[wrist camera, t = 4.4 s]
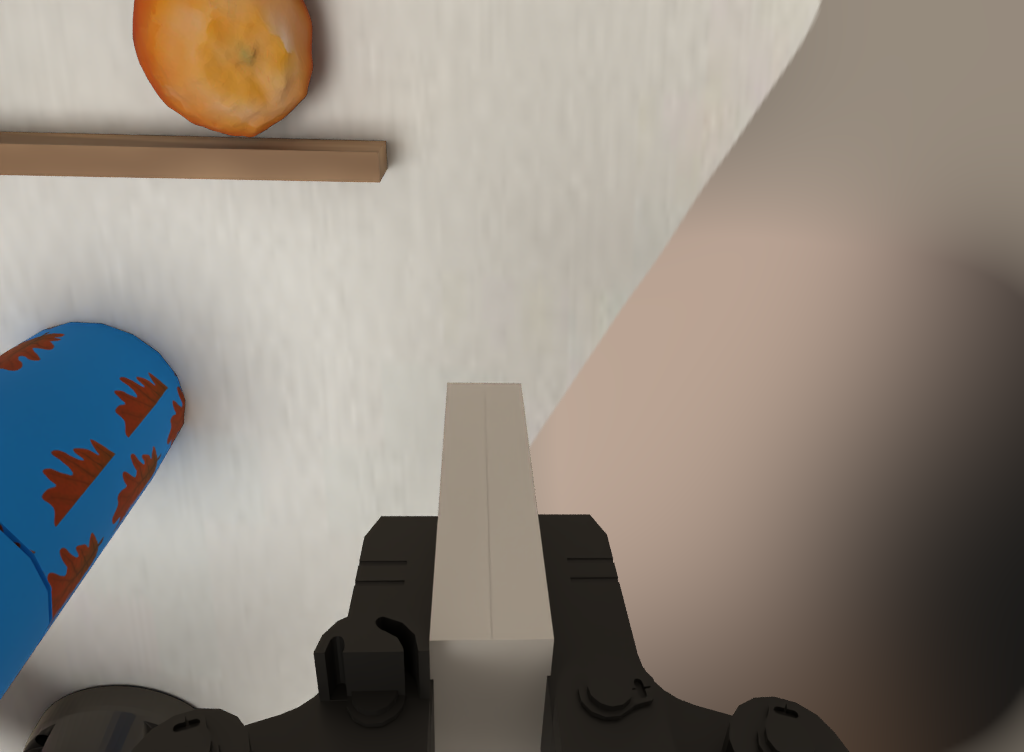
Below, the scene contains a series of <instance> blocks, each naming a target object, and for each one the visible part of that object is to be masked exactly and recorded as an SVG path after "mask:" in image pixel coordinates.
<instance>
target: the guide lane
mask: <svg viewBox="0 0 1024 752" xmlns="http://www.w3.org/2000/svg"><path fill="white" fill-rule="evenodd" d="M386 170H387V152H386V141H365V140H324V139H283V138H242V137H200V136H159V135H118V134H76V133H35V132H0V175H33V176H83V177H133V178H184V179H234V180H284V181H334V182H380V181H381V179H382V177H383V176H384V174H385V172H386Z"/></svg>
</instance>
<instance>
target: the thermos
mask: <svg viewBox="0 0 1024 752" xmlns="http://www.w3.org/2000/svg"><path fill="white" fill-rule="evenodd" d="M184 411H185V398H184V395H183V392H182V389H181V387H180V384H179V381H178V378H177V375H176V374H175V373H174V372H173V370H172V369H171V368H170V366H169V365H168V364H167V363H166V361H165V360H164V359H163V358H162V356H161V355H160V354H159V353H158V352H157V351H156V350H154V349H153V348H151V347H150V346H148V345H147V344H146V343H144V342H143V341H141V340H140V339H138V338H137V337H136V336H134V335H133V334H130V333H127V332H124V331H121V330H119V329H116V328H113V327H110V326H107V325H104V324H99V323H80V322H69V323H66V324H62V325H59V326H55V327H52V328H48V329H45V330H42V331H41V332H39V333H37V334H36V335H34V336H32V337H31V338H29V339H27V340H26V341H24V342H22V343H21V344H19V345H17V346H15V347H14V348H12V349H10V350H9V351H7V352H5V353H4V354H2V355H1V356H0V699H1V698H2V696H3V695H4V693H5V692H6V691H7V689H8V688H9V686H10V685H11V683H12V682H13V680H14V679H15V677H16V676H17V675H18V673H19V672H20V670H21V669H22V667H23V666H24V664H25V663H26V661H27V660H28V659H29V657H30V656H31V654H32V653H33V651H34V650H35V648H36V646H37V645H38V644H39V643H40V641H41V640H42V638H43V637H44V635H45V634H46V632H47V631H48V629H49V628H50V627H51V625H52V624H53V622H54V621H55V619H56V618H57V616H58V615H59V613H60V612H61V611H62V609H63V608H64V606H65V605H66V603H67V602H68V600H69V599H70V597H71V596H72V595H73V593H74V592H75V590H76V589H77V587H78V586H79V584H80V583H81V581H82V580H83V579H84V577H85V576H86V574H87V573H88V571H89V570H90V568H91V567H92V565H93V564H94V563H95V561H96V560H97V558H98V557H99V555H100V554H101V552H102V551H103V549H104V548H105V547H106V545H107V544H108V542H109V541H110V539H111V538H112V536H113V535H114V533H115V532H116V531H117V529H118V528H119V526H120V525H121V523H122V522H123V520H124V519H125V517H126V516H127V515H128V513H129V512H130V510H131V509H132V507H133V506H134V504H135V503H136V501H137V500H138V499H139V497H140V496H141V494H142V493H143V491H144V490H145V488H146V487H147V485H148V484H149V483H150V481H151V480H152V478H153V476H154V475H155V473H156V471H157V469H158V468H159V466H160V464H161V462H162V461H163V459H164V457H165V455H166V454H167V452H168V450H169V448H170V447H171V445H172V443H173V441H174V440H175V438H176V436H177V434H178V433H179V431H180V429H181V427H182V426H183V424H184Z"/></svg>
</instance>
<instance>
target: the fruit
mask: <svg viewBox="0 0 1024 752" xmlns="http://www.w3.org/2000/svg"><path fill="white" fill-rule="evenodd" d="M133 41H134V46H135V50H136V53H137V57H138V60H139V63H140V65H141V67H142V69H143V71H144V73H145V75H146V77H147V79H148V80H149V82H150V83H151V85H152V86H153V88H154V90H155V91H156V93H157V94H158V95H159V97H160V98H161V99H162V100H163V102H164V103H165V104H166V105H167V106H168V107H170V108H171V109H173V110H174V111H176V112H177V113H179V114H180V115H182V116H183V117H185V118H186V119H187V120H189V121H190V122H191V123H193V124H196V125H199V126H203V127H205V128H208V129H210V130H213V131H217V132H221V133H224V134H227V135H231V136H246V137H254V136H256V135H258V134H259V133H261V132H263V131H265V130H267V129H268V128H269V127H271V126H272V125H274V124H275V123H277V122H279V121H280V120H282V119H283V118H284V117H286V116H287V115H288V114H289V113H290V112H291V111H292V110H293V109H294V108H295V107H296V106H297V105H298V104H299V103H300V102H301V101H302V100H303V99H304V98H305V97H306V95H307V91H308V85H309V82H310V78H311V74H312V71H313V62H312V22H311V18H310V15H309V13H308V10H307V7H306V5H305V3H304V1H303V0H135V1H134V12H133Z"/></svg>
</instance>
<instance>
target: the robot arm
mask: <svg viewBox="0 0 1024 752" xmlns="http://www.w3.org/2000/svg"><path fill="white" fill-rule="evenodd" d="M314 659H315V667H316V675H317V682H318V690H319V693H318V694H317V695H316V696H315V697H313V698H312V699H310V700H309V701H307V702H306V703H304V704H303V705H301V706H300V707H298V708H295V709H293V710H291V711H288V712H286V713H283V714H281V715H278V716H274V717H271V718H268V719H265V720H261V721H258V722H255V723H252V724H248V725H245V726H244V725H243V724H242V722H241V721H240V720H239V718H238V717H237V716H235V715H232V714H230V713H228V712H226V711H223V710H221V709H194V708H193V707H191V706H189V705H188V704H186V703H184V702H182V701H180V700H178V699H176V698H174V697H171V696H169V695H166V694H163V693H160V692H156V691H152V690H148V689H143V688H136V687H127V686H106V687H96V688H90V689H86V690H82V691H79V692H76V693H73V694H70V695H68V696H66V697H64V698H62V699H60V700H59V701H57V702H56V703H54V704H53V705H52V706H51V707H49V708H48V709H47V711H46V712H45V713H44V714H43V716H42V717H41V719H40V720H39V722H38V724H37V725H36V727H35V729H34V730H33V732H32V734H31V735H30V737H29V739H28V741H27V743H26V745H25V748H24V751H23V752H849V751H848V750H847V748H846V747H845V746H844V744H843V743H842V742H841V740H840V739H839V738H838V737H837V735H836V734H835V732H833V731H832V729H830V727H828V726H827V725H826V724H825V723H824V722H823V721H822V720H821V719H820V718H819V717H818V716H817V715H816V714H814V713H813V712H811V711H809V710H808V709H806V708H804V707H802V706H801V705H799V704H797V703H795V702H791V701H788V700H784V699H780V698H777V697H760V698H753V699H751V700H749V701H747V702H745V703H743V704H741V705H739V706H738V708H737V710H736V711H735V713H734V714H733V716H731V715H728V714H724V713H721V712H717V711H713V710H710V709H706V708H703V707H699V706H696V705H693V704H690V703H688V702H685V701H682V700H680V699H678V698H676V697H674V696H673V695H671V694H669V693H668V692H666V691H664V690H663V689H662V688H661V687H660V686H659V685H657V684H656V683H655V682H654V680H653V678H652V677H651V676H650V675H649V674H648V673H647V672H646V671H645V669H644V668H643V666H642V664H641V662H640V659H639V656H638V654H637V650H636V646H635V642H634V639H633V634H632V630H631V627H630V623H629V619H628V615H627V611H626V607H625V604H624V599H623V596H622V592H621V588H620V584H619V582H618V576H617V572H616V568H615V565H614V563H613V557H612V553H611V549H610V545H609V542H608V537H607V534H606V533H605V532H604V531H603V530H602V528H601V527H600V526H599V525H598V524H597V523H596V521H595V520H594V519H593V518H592V517H591V516H590V515H538V512H537V504H536V496H535V489H534V481H533V473H532V466H531V458H530V450H529V442H528V434H527V427H526V419H525V411H524V403H523V396H522V388H521V384H516V383H447V396H446V411H445V425H444V439H443V453H442V468H441V482H440V496H439V510H438V516H381V517H380V519H379V520H378V521H377V522H376V523H375V525H374V526H373V527H372V528H371V530H370V531H369V532H368V533H367V534H366V536H365V537H364V542H363V546H362V551H361V556H360V563H359V566H358V570H357V575H356V580H355V586H354V590H353V594H352V599H351V604H350V609H349V614H348V617H346V618H344V619H341V620H339V621H337V622H336V623H335V624H334V625H333V626H332V627H331V628H330V629H329V630H328V631H327V632H325V633H324V634H323V635H322V637H321V639H320V641H319V643H318V645H317V647H316V649H315V651H314Z"/></svg>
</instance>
